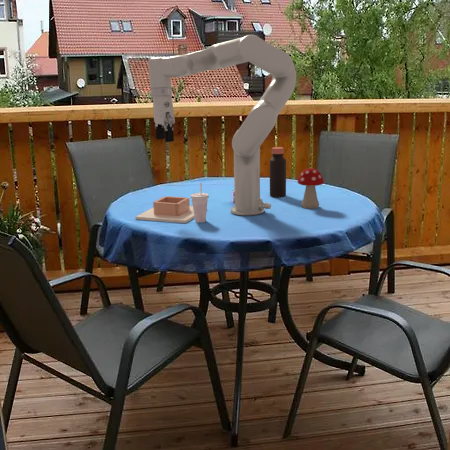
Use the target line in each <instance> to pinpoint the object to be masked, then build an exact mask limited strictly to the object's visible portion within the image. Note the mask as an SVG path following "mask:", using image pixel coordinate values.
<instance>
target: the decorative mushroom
mask: <svg viewBox="0 0 450 450" xmlns="http://www.w3.org/2000/svg"><path fill="white" fill-rule="evenodd" d="M324 182H325V181H324V177H323V175H322V173H321V172H320V171H319V170H318V169H317V168H312V167H309V168H305V169H304V170H302V171H301V172H300V174H299V176H298V179H297V184H298V185H301V186H305V189H304V192H303V198H302V201H301V202H300V204H301V206H302V207H301V208H303V209H312V210H313V209H318V208H319V206H320V201H319V200H318V195H317V189H316V187H317V186H322V185H323V184H324Z"/></svg>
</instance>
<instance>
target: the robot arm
mask: <svg viewBox="0 0 450 450" xmlns="http://www.w3.org/2000/svg"><path fill="white" fill-rule="evenodd" d="M245 63H251V64H252V65H254V66H256V67H258V68H259V69H261V70H263V71H265V72H266V73H268V74H270V75H271V76H272V77H271V81H270V83H269V85H268V86H267V88H266V89H265V91H264V92H263V95H262V96H261V97H260V99H259V100H258V101H257V103H256V104H255V105H254V106H253V107H252V108H251V110H250V111H249V113H248V115H247V116H246V117H245V119H244V120H243V123H242V124H241V125H240V127H239V128H238V129H237V130H236V131H235V133H234V134H233V137H232V140H231V147H232V150H233V175H234V176H233V182H234V185H233V187H234V189H233V191H234V206H232V207H230V213H232V214H233V215H237V216H257V215H261V214H263V213H264V212H265V209H266V210H271V208H272V204H271V203H270V202H264V201H263V198H261V179H260V178H261V169H260V168H261V145H262V144H263V143H264V141H265V140H266V138H267V137H268V136H269V134H270V133H271V131H272V130H273V129H274V127H275V125H276V122H277V120H278V116H279V115H280V113H281V112H282V110H283V109H284V107H285V106H286V104H287V102H288V101H289V99H290V98H291V96H292V94H293V92H294V90H295V88H296V83H297V70H296V67H295V64H294V61H293V58H292V57H291V56H290V55H289V54H288V53H287V52H285V51H283V50H281V49H279V48H277V47H276V46H274V45H273V44H271V43H269V42H267V41H265V40H264V39H262V38H261V37H259V36H258V35H255V34H247V35H245V36H243V37H238V38H234V39H231V40H227V41H223V42H220V43H216V44H212V45H211V46H209V47H206V48H204V49H201V50H198V51H195V52H190V53H185V54H181V55H180V54H179V55H174V56H170V57H169V56H168V57H166V56H158V57H157V56H156V57H150V58H149V59H148V63H147V64H148V77H149V87H150V98H152V108H153V109H152V111H153V122H154V124H155V125H154V128H155V139H156V140H164V142H165V143H172V142H174V141H175V139H174V138H175V137H174V136H175V135H174V124H175V123H176V121H175V120H176V119H175V112H174V104H173V99H172V97H173V94H172V93H173V91H172V79H171V78H177V79H178V78H184V77H188V76H191V75H196V74H200V73H203V72H207V71H212V70H213V71H214V70H220V69H225V68H229V67H232V66H237V65H241V64H245Z"/></svg>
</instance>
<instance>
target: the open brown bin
mask: <svg viewBox="0 0 450 450" xmlns="http://www.w3.org/2000/svg"><path fill="white" fill-rule="evenodd" d="M152 204H153V207H151V208H149V209H147V210H146V211H144V212H142V213H139V214H138V215H136V216H135V220H139V221H151V222H153V221H154V222H164V223H165V222H166V223H177V224H187V223H189V222H190V221H192V220H193V219H195V216H194V210H193V205H190V198H189V197H183V196H162V197H161V198H159V199H157V200H155V201H153V203H152Z"/></svg>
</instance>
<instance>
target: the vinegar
mask: <svg viewBox="0 0 450 450" xmlns="http://www.w3.org/2000/svg"><path fill="white" fill-rule="evenodd" d="M284 152H285V148H284V147H282V146H274V147H271V155H272V157H270V159H269V196H270V197H272V198H285V197H286V196H287V159H286V158H285V157H284Z"/></svg>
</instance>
